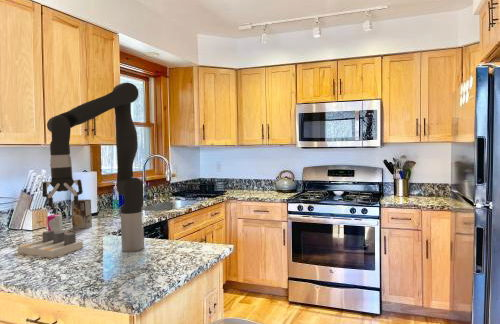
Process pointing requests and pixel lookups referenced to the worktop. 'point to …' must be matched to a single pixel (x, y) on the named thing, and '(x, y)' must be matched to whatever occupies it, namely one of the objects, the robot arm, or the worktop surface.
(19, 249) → the switch panel
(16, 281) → the worktop surface
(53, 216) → the supplement box
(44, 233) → the tab
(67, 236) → the tab
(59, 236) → the tab
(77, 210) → the coffee box
